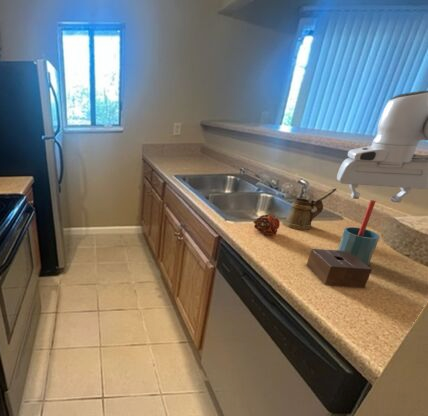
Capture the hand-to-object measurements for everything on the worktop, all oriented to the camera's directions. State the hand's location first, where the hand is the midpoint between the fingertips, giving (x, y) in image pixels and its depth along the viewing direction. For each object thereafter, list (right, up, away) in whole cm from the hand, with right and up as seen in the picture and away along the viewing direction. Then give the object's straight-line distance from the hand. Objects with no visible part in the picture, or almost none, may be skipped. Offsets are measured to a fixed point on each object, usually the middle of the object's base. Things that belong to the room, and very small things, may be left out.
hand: (374, 199), depth 82 cm
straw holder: (-13, -23, 0) cm, 26 cm away
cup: (0, -19, +8) cm, 21 cm away
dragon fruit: (-17, -12, +27) cm, 34 cm away
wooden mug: (+2, -10, +31) cm, 33 cm away
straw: (0, -19, +7) cm, 20 cm away
